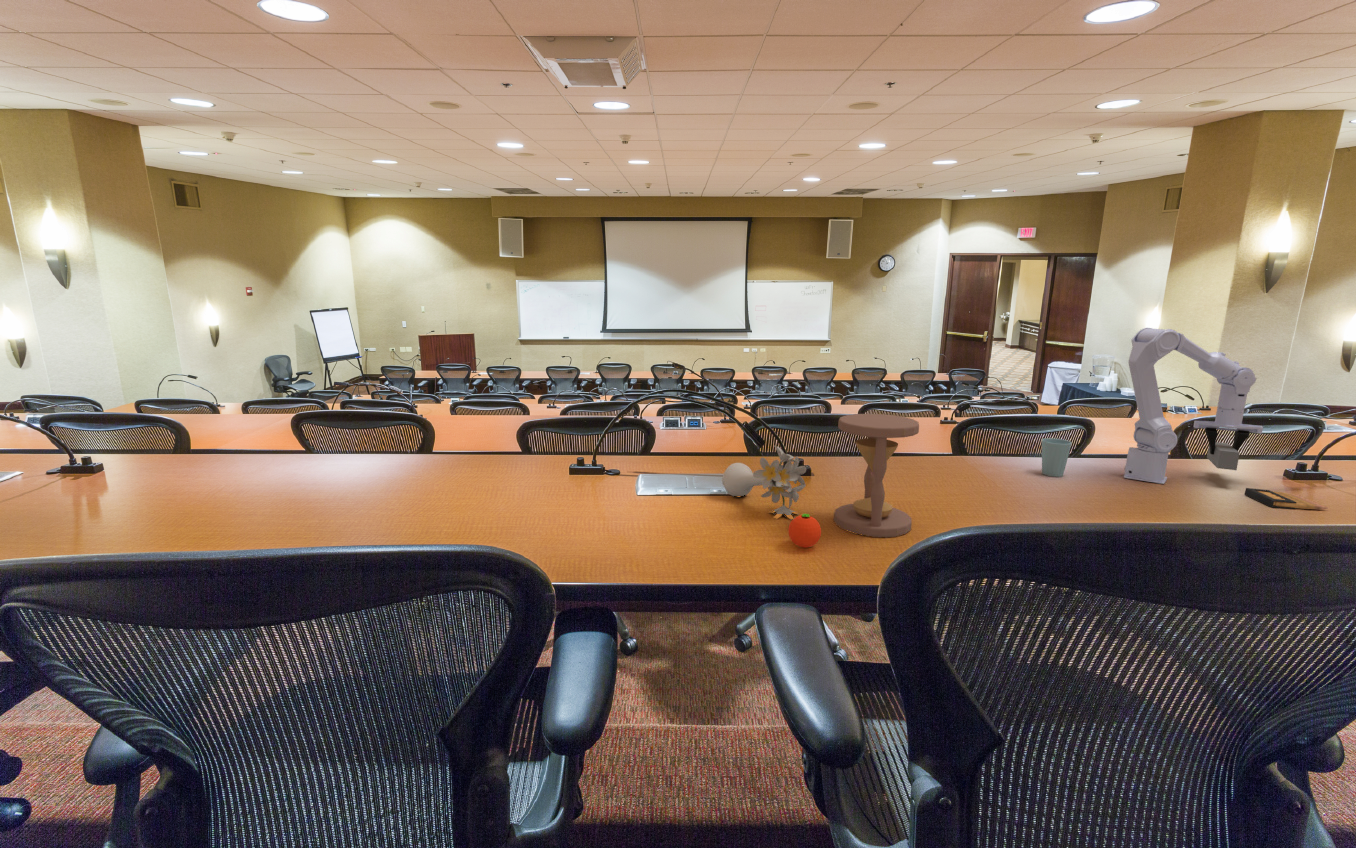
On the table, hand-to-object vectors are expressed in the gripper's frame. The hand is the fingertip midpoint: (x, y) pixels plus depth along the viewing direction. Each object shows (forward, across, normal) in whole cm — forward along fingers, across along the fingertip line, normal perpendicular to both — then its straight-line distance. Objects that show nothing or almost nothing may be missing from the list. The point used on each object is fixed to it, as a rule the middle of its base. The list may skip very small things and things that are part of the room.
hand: (1222, 454), depth 174 cm
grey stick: (+3, 0, 0) cm, 3 cm away
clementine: (+8, -82, -112) cm, 139 cm away
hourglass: (+8, -74, -91) cm, 117 cm away
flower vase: (+8, -101, -94) cm, 138 cm away
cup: (+8, -40, -19) cm, 45 cm away
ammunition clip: (+7, +5, -19) cm, 21 cm away
